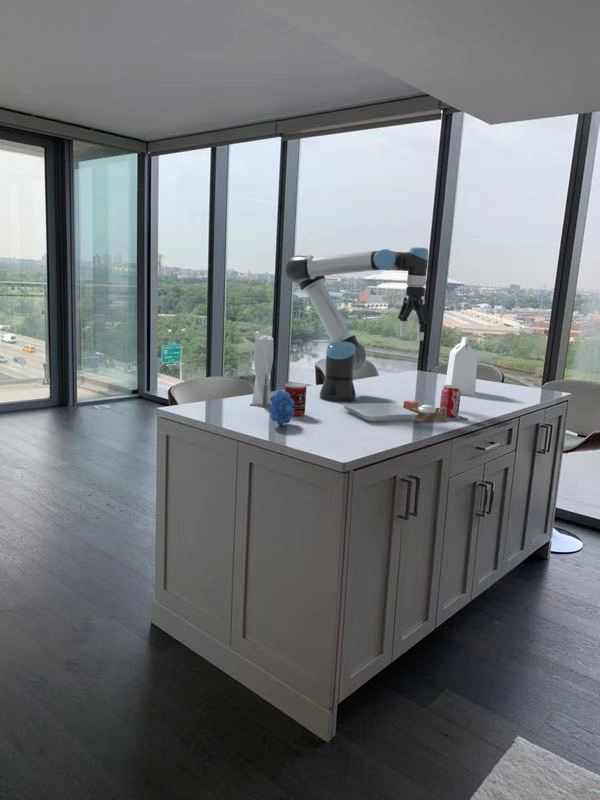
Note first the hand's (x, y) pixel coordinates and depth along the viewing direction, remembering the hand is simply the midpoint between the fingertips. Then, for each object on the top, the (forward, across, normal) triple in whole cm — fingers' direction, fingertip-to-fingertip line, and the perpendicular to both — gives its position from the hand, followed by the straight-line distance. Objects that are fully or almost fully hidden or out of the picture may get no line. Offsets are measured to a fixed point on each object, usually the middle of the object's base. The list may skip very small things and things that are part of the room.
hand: (411, 338), depth 255 cm
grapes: (+27, -34, +67) cm, 80 cm away
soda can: (+27, -30, -1) cm, 40 cm away
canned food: (+27, -18, +57) cm, 66 cm away
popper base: (+27, -30, +9) cm, 42 cm away
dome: (+25, -30, +9) cm, 41 cm away
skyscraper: (+27, 0, +64) cm, 69 cm away
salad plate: (+27, -25, +26) cm, 45 cm away
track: (+27, -26, -1) cm, 37 cm away
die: (+27, -19, +9) cm, 34 cm away
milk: (+27, +18, -40) cm, 51 cm away
